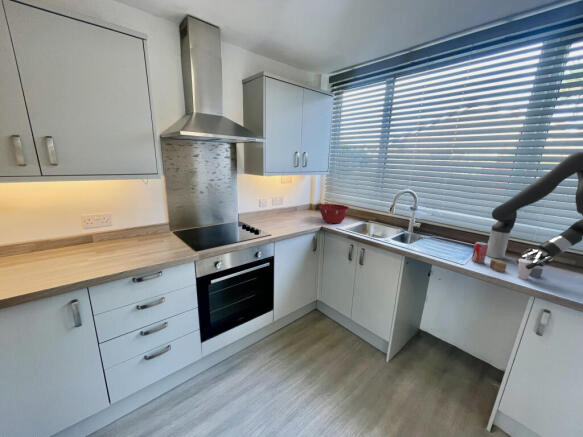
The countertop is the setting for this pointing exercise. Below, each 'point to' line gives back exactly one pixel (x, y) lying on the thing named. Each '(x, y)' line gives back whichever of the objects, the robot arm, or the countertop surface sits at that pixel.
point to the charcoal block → (536, 272)
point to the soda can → (479, 252)
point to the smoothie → (524, 268)
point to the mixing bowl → (333, 212)
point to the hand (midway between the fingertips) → (522, 265)
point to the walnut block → (498, 265)
